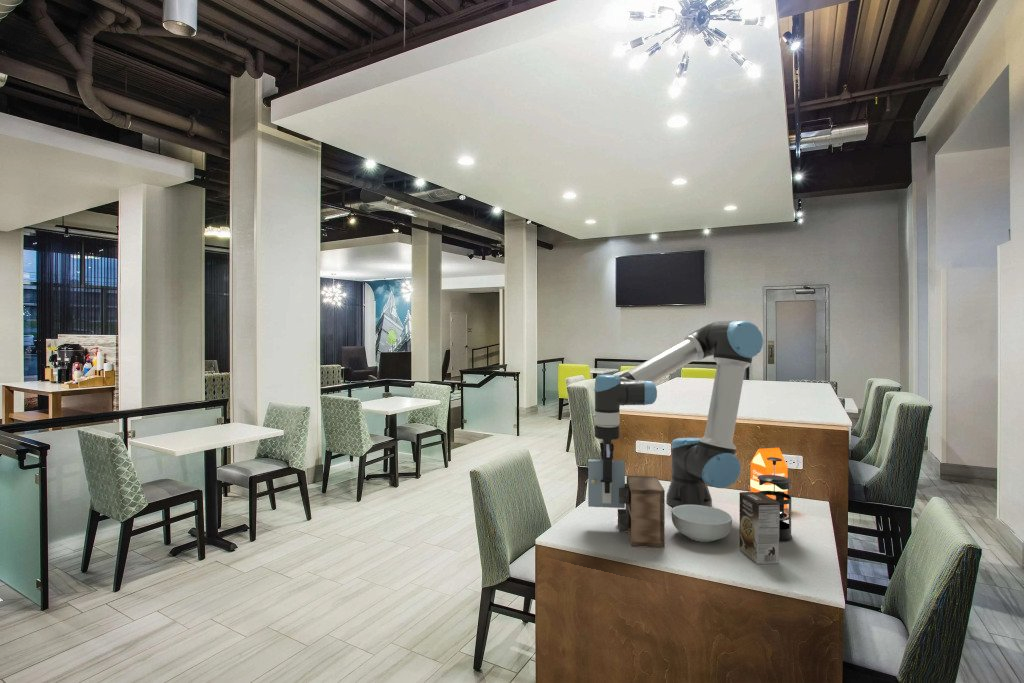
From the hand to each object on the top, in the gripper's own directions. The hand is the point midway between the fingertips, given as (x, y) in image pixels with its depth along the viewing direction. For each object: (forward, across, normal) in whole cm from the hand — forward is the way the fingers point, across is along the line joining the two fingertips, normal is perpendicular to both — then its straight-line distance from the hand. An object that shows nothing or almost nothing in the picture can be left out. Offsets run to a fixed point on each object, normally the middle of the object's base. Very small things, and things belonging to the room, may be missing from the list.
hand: (606, 501), depth 158 cm
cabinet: (+8, +5, +9) cm, 13 cm away
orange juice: (+8, -27, +57) cm, 64 cm away
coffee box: (+8, +16, +39) cm, 43 cm away
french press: (+8, 0, +49) cm, 50 cm away
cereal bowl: (+8, +4, +27) cm, 29 cm away
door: (+2, 0, 0) cm, 2 cm away
